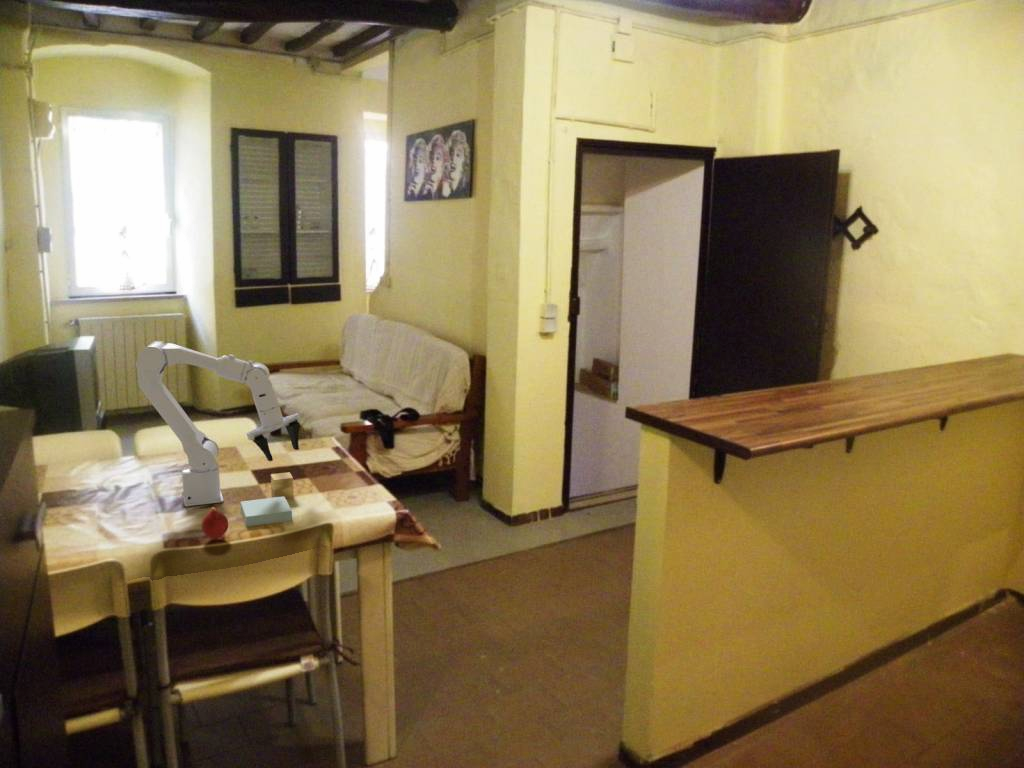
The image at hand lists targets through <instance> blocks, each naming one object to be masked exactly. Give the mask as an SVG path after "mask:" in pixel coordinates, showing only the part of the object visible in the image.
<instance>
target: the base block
mask: <svg viewBox="0 0 1024 768" xmlns="http://www.w3.org/2000/svg"><path fill="white" fill-rule="evenodd" d="M240 512H242V513H241V515H242V519H243V521H244V524H245V526H247V527H254V526H258V525H259V526H262V525H266V524H268V525H269V524H275V523H282V522H289V521H293V510H292V508H291V506H290V505H289V502H288V500H286V499H285V497H284V496H283V497H274V498H273V497H268V498H267V497H266V498H258V499H251V500H244V501H240ZM253 525H254V526H253Z"/></svg>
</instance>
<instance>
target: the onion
mask: <svg viewBox="0 0 1024 768" xmlns="http://www.w3.org/2000/svg"><path fill="white" fill-rule="evenodd" d="M210 508H211V509H210V511H209V512H208V513H206V515H205V516H204V517H203V519H202V522H201V529H202V532H203V534H205V535H206V536H207V537H209V538H211V539H212V540H213V541H216V540H218V539H220V538H221V537H222V536H224V534H226V532H227V531H228V530H229V529H228V528H229V520H228V518H227V517H226V515H224V513H223V512H221V511H220V510H218V509H216V508H215V507H213V506H212V507H210Z"/></svg>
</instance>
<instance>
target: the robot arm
mask: <svg viewBox="0 0 1024 768" xmlns="http://www.w3.org/2000/svg"><path fill="white" fill-rule="evenodd" d="M181 363H183V364H187V365H191V366H194V367H200V368H202V369H203V368H204V369H208V370H212V371H214V373H215V374H216V376H218V377H219V378H223V379H227V380H230V381H234V382H238V383H242V384H243V383H245V384H246V385H247V386H248V387H249V388H250V390H251V394H252V398H253V401H254V405H255V408H256V411H257V414H258V417H259V419H260V424H261V425H260V426H259V427H256V428H254V429H253V430H251V431H248V432H246V436H247V439H248V440H249V441H252V442H253V443H254V444H255V445H256V446H258V448H259V449H260V450H261V451H262V453H263V454H264V456H265V458H266V460H267V461H268V462H273V461H274V458H273V456H272V453H271V451H270V447H269V443H268V438H266V437H265V436H264V435H267V434H270V433H271V432H275V431H276V430H279V429H281V428H285V429H286V431H287V433H288V436H289V438H290V442H291V445H292V447H293V450H295V451H299V450H300V447H299V436H300V435H299V433H300V430H301V424H300V422H301V421H302V418H301V415H300V413H293V414H291V415H287V416H283V413H282V409H281V408H280V405H279V404H280V403H279V401H278V398H277V394H276V391H275V388H274V387H273V383H272V382H271V379H270V370H269V367H267V365H265V364H264V363H262V362H260V361H259V362H258V361H257V362H254V361H253V360H248V361H247V360H244V359H241V358H240V359H239V358H236V357H235V355H234V354H232V353H231V354H228V355H226V354H224V355H222V356H220V357H215V356H212V355H209V354H206V353H204V352H200V351H196V350H195V349H191V348H188V347H186V346H181V345H178V344H177V343H176V344H175V343H172V342H171V343H170V342H167V343H166V342H165V341H161V340H155V341H152V342H150V343H149V344H148V345H147V346H145V347H144V348H142V349H141V350H140V351H139V353H138V355H137V359H136V361H135V367H136V374H137V384H138V385H137V386H138V388H139V389H140V390H141V392H142V393H143V394H144V395H145V397H146V398H147V400H148V401H149V403H150V404H152V406H153V408H155V409H156V411H157V413H159V415H160V417H161V418H162V419H163V421H165V424H167V425H168V427H169V428H170V429H171V431H172V432H173V433H174V435H176V437H177V439H178V440H179V441H180V443H181V445H182V449H183V451H184V453H185V454H186V456H187V459H188V460H187V461H188V464H189V468H186V469H182V470H181V481H182V490H181V497H182V498H183V503H184V506H185V507H192V506H200V505H209V504H217V503H223V502H224V498H223V494H222V491H221V483H220V482H221V481H220V478H221V477H220V464H219V462H218V461H217V460H216V458H217V457H218V455H219V450H220V449H219V445H218V444H217V443H216V441H214V440H213V439H211V438H209V437H208V436H207V435H206V434H205V433H204V432H203V431H201V430H199V429H198V427H196V425H195V424H194V422H193V421H192V419H190V417H189V416H188V415H187V413H186V412H185V410H184V409H183V407H181V405H180V404H179V403H178V400H176V399H175V397H174V396H173V395H172V394H171V393H172V392H170V390H169V389H168V388H167V387H166V386H165V384H164V383H163V382H162V380H163V377H164V373H165V368H166V367H167V366H168V367H172V366H174V365H177V364H181Z"/></svg>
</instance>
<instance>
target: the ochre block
mask: <svg viewBox="0 0 1024 768" xmlns="http://www.w3.org/2000/svg"><path fill="white" fill-rule="evenodd" d="M270 487H271V488H270V489H271V496H272V497H271V498H274V497H283V496H284V497H285V499H288V500H293V498H294V478H293V475H292V474H291V472H289V471H288V472H280V473H271V474H270Z"/></svg>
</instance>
